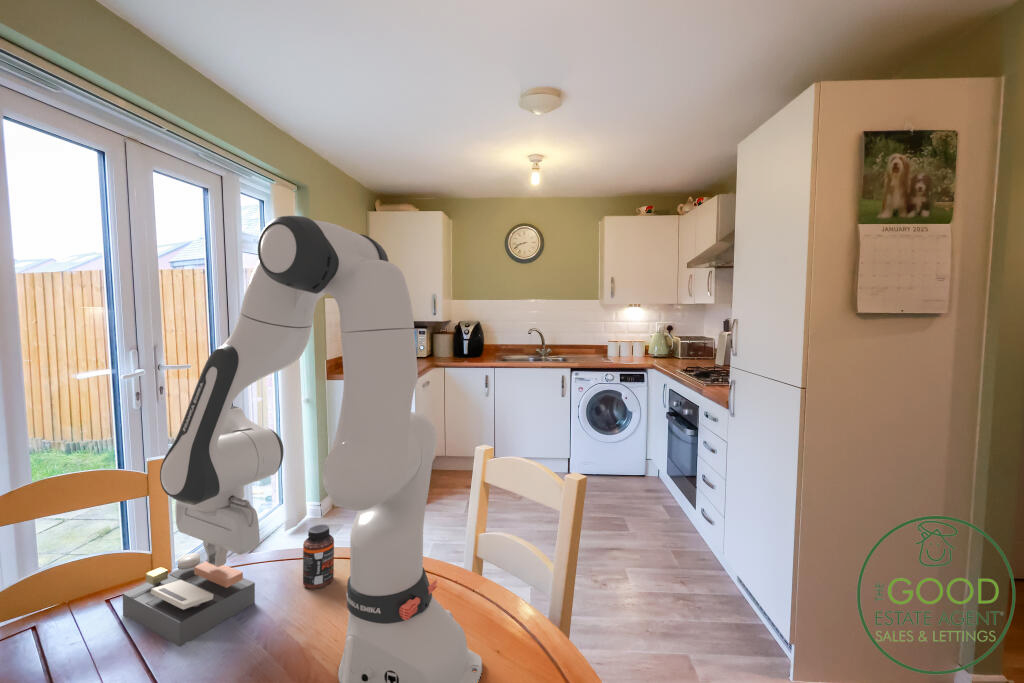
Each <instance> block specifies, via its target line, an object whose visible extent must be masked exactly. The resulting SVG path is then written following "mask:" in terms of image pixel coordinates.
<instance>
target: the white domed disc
mask: <svg viewBox="0 0 1024 683" xmlns="http://www.w3.org/2000/svg"><path fill="white" fill-rule="evenodd" d="M200 561H201V554H200V553H198V552H191V553H187V554H184V555H182V556H180V557H179V558H177V570H178V569H182V570H183V569H189V568H193V567H195V566H197V565H198V564H199V563H200Z"/></svg>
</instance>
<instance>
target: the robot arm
mask: <svg viewBox="0 0 1024 683" xmlns="http://www.w3.org/2000/svg"><path fill="white" fill-rule="evenodd" d="M257 257H258V261H257V263H256V265H255V266H254V269H253V271H252V274H251V276H250V277H249V278H250V279H249V281H248V284H247V287H246V288H245V289H246V290H245V293H244V295H243V299H242V303H241V309H240V312H239V313H240V314H239V317H238V319H237V322H236V324H235V326H234V328H233V330H232V332H231V333H230V335H229V336H228V338H227V339H226V341H224V342H223V344H222V345H220V346H219V347H217V348H216V349H215V350H214V351H212V352H211V354H210V355H209V356H208V358H207V360H206V361H205V365H204V367H203V369H202V370H201V371H202V372H201V373H200V375H199V378H198V381H197V383H196V386H195V388H194V390H193V395H192V396H191V399H190V402H189V404H188V407H187V409H186V413H185V415H184V417H183V420H182V423H181V425H180V428H179V431H178V432H177V435H176V437H175V439H174V442H173V443H172V445H171V447H170V448H169V449H168V451H167V453H166V454H165V456H164V458H163V460H162V463H161V465H160V471H159V481H160V486H161V488H162V491H164V494H166V495H167V496H169V497H171V499H173V500H175V506H174V507H175V525H176V528H177V530H178V532H180V533H181V534H185V535H187V536H188V537H192V538H194V539H197V540H200V541H202V545H203V549H204V550H205V553H206V555H207V561H208V563H210V564H212V565H214V566H217V567H220V566H222V565H226V563H227V555H228V553H229V552H231V553H234V554H237V555H240V556H241V555H244V554H246V553H249V552H251V551H252V550H255V549H256V548H257V547H258V546H259V544H260V540H261V537H260V535H261V534H260V525H259V518H258V517H259V516H258V513H257V510H256V509H255V508H254V507H253V506H252V505H251V502H250V501H249V499H248V500H247V499H244V497H245V486H247V485H250V484H253V483H255V482H258V481H262V480H264V479H267V478H269V477H271V476H273V475H274V476H275V474H276V473H277V472H278V471H279V470H280V468H281V466H282V463H283V460H284V444H283V440H282V439H281V437H280V435H279V434H277V432H275V430H273V429H271V428H270V427H263V426H261V425H258V424H256V423H255V422H253V421H252V420H250V419H249V418H247V417H246V415H245V413H244V411H243V409H242V408H241V407H239V406H235V405H233V403H234V401H235V400H236V398H237V397H238V396H239V394H241V392H243V391H244V390H245V389H246V388H247V387H249V386H251V385H253V384H255V383H257V382H258V381H259V380H261V379H263V378H265V377H268V376H269V375H272V374H274V373H277V372H280V371H282V370H283V369H286V368H289V367H290V366H292V364H294V363H295V362H296V361H297V360H299V359H300V358H301V356H303V353H304V352H305V350H306V348H307V346H308V343H309V339H310V337H311V336H310V335H311V331H312V325H313V323H314V322H313V321H314V317H315V310H316V307H317V304H318V302H319V300H320V299H321V297H323V296H325V295H326V294H327V295H330V296H331V297H332V298H334V300H335V302H336V304H337V308H338V311H339V325H340V327H339V328H340V329H339V330H340V340H341V341H340V342H341V355H342V356H341V357H342V368H343V390H342V391H343V392H342V399H341V405H340V407H341V408H340V411H339V412H340V413H339V417H338V418H339V419H338V423H337V429H336V433H335V438H334V441H333V444H332V447H331V449H330V450H329V452H328V454H327V456H326V458H325V460H324V463H323V466H322V472H321V473H322V484H323V485H324V486H323V487H324V489H325V491H326V493H327V495H328V497H329V498H330V499H331V500H332V501H333V502H334V503H335V504H337V505H338V506H339V507H341V508H343V509H345V510H347V511H348V510H349V511H354V512H357V513H356V516H355V518H354V520H353V522H352V525H351V531H350V538H349V539H350V541H349V542H350V546H349V547H350V548H349V549H350V550H349V551H350V552H349V553H350V554H349V558H350V560H349V561H350V565H349V566H350V568H349V569H350V570H349V571H350V574H349V577H348V579H347V586H346V590H347V591H345V593H346V594H345V596H346V608H347V610H348V620H347V629H346V635H345V642H344V643H345V644H344V648H343V649H344V650H343V654H342V657H341V661H340V664H339V666H338V667H339V668H338V673H337V676H338V681H339V683H477V682H478V681H479V679H480V676H481V677H482V675H481V673H482V674H483V661H482V657H481V656H480V655H479V654H477V653H476V652H474V651H472V650H471V649H469V648H468V644H467V638H466V637H467V636H466V634H465V630H464V629H463V627H462V626H461V625H460V624H459V623H458V621H456V620H455V619H454V616H453V613H452V612H451V611H450V610H448V609H445V608H444V607H443V606H442V605H441V603H440V602H439V601H438V600H437V599H436V598H435V597H434V596H433V592H434V591H435V590H436V589H437V588H438V585H436V584H438V583H437V582H438V580H437V579H436V580H434V581H433V582H432V583H431V584H430V583H429V579H428V575H427V572H426V570H425V568H424V561H423V560H424V525H425V517H426V516H425V515H426V508H427V503H428V497H429V491H430V485H431V484H430V482H431V477H432V476H431V475H432V468H433V460H434V454H435V451H436V447H437V443H438V436H437V435H438V434H437V430H436V427H435V426H434V425H435V424H433V422H432V421H431V420H430V419H429V418H428V417H427V416H425V415H423V414H422V413H419V412H414V411H412V408H413V407H412V405H413V397H414V393H415V390H416V389H415V388H416V386H417V382H418V380H419V379H418V377H419V373H418V361H417V357H418V356H417V348H416V347H417V346H416V334H415V324H414V323H415V322H414V314H413V308H412V302H411V296H410V292H409V289H408V285H407V282H406V278H405V275H404V273H403V271H402V270H401V268H399V266H397V265H395V264H394V263H393V262H390V261H389V258H388V255H387V252H386V251H385V249H384V248H383V247H382V245H381V244H379V242H377V241H376V240H375V239H373V238H371V237H369V236H368V235H365V234H361V233H357V232H355V231H352V230H350V229H348V228H344V227H343V226H341V225H338V224H335V223H331V222H328V221H321V220H316V219H315V220H314V219H311V218H309V217H306V216H300V215H283V216H278V217H275V218H273V219H272V220H270V221H269V222H268V223H267V224H266V225H265V226H264V228H262V231H261V233H260V234H259V238H258V243H257ZM473 671H476V672H473ZM480 680H481V679H480ZM479 682H480V681H479Z"/></svg>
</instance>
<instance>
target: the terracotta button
mask: <svg viewBox="0 0 1024 683" xmlns="http://www.w3.org/2000/svg"><path fill="white" fill-rule="evenodd" d="M203 562H204V563H202V564H199V565H197V566H195V567H194V574H195V575H198V576H200V577H202V578H205V579H207V580H209V581H212V582H214V583H216V584H219V585H221V586H223V587H226V588H227V587H229V586H231V585H233V584H235V583H237V582H239V581H241V580H243V578H244V576H243V575H244V572H243V571H241V570H238V569H235V568H233V567H231V566H228V565H226V564H224V565H222V566H220V567H217V566H214V565H212V564H210V563H208V560H207V561H203Z"/></svg>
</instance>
